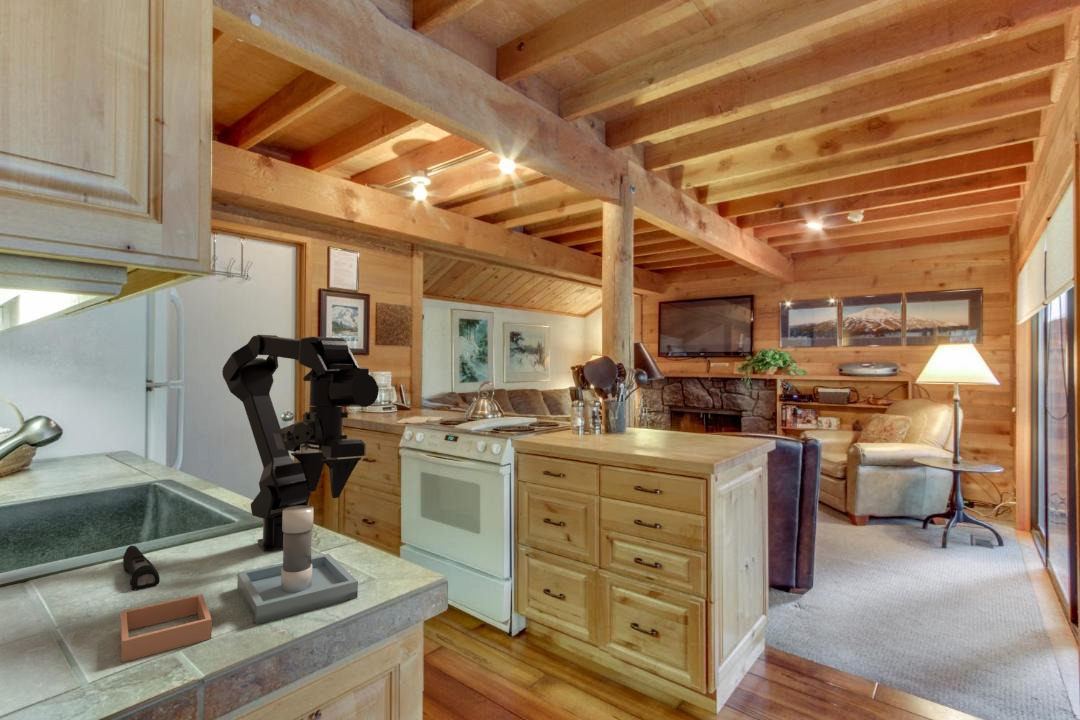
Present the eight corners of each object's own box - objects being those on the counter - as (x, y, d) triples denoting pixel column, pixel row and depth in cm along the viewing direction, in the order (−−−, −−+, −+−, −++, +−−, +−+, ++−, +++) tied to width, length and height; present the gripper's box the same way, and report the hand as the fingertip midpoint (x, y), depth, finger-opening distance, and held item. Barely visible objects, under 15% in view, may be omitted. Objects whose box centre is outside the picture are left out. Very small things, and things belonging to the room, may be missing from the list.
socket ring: (120, 630, 71) (120, 611, 71) (201, 611, 77) (202, 593, 77) (121, 662, 64) (122, 641, 64) (211, 638, 70) (211, 619, 70)
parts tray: (237, 588, 85) (237, 572, 85) (328, 567, 93) (328, 553, 93) (256, 624, 74) (256, 606, 74) (357, 597, 82) (357, 581, 82)
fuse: (277, 584, 84) (279, 508, 84) (307, 578, 87) (308, 504, 87) (285, 595, 80) (286, 515, 80) (315, 587, 83) (317, 510, 83)
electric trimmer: (145, 559, 96) (145, 541, 96) (161, 586, 85) (161, 566, 85) (118, 564, 94) (118, 546, 94) (131, 593, 82) (131, 572, 82)
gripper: (259, 406, 97) (255, 493, 96) (303, 407, 84) (299, 508, 83) (320, 405, 105) (317, 486, 104) (368, 407, 93) (365, 499, 91)
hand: (323, 494), depth 96 cm, fingers open, 9 cm apart
